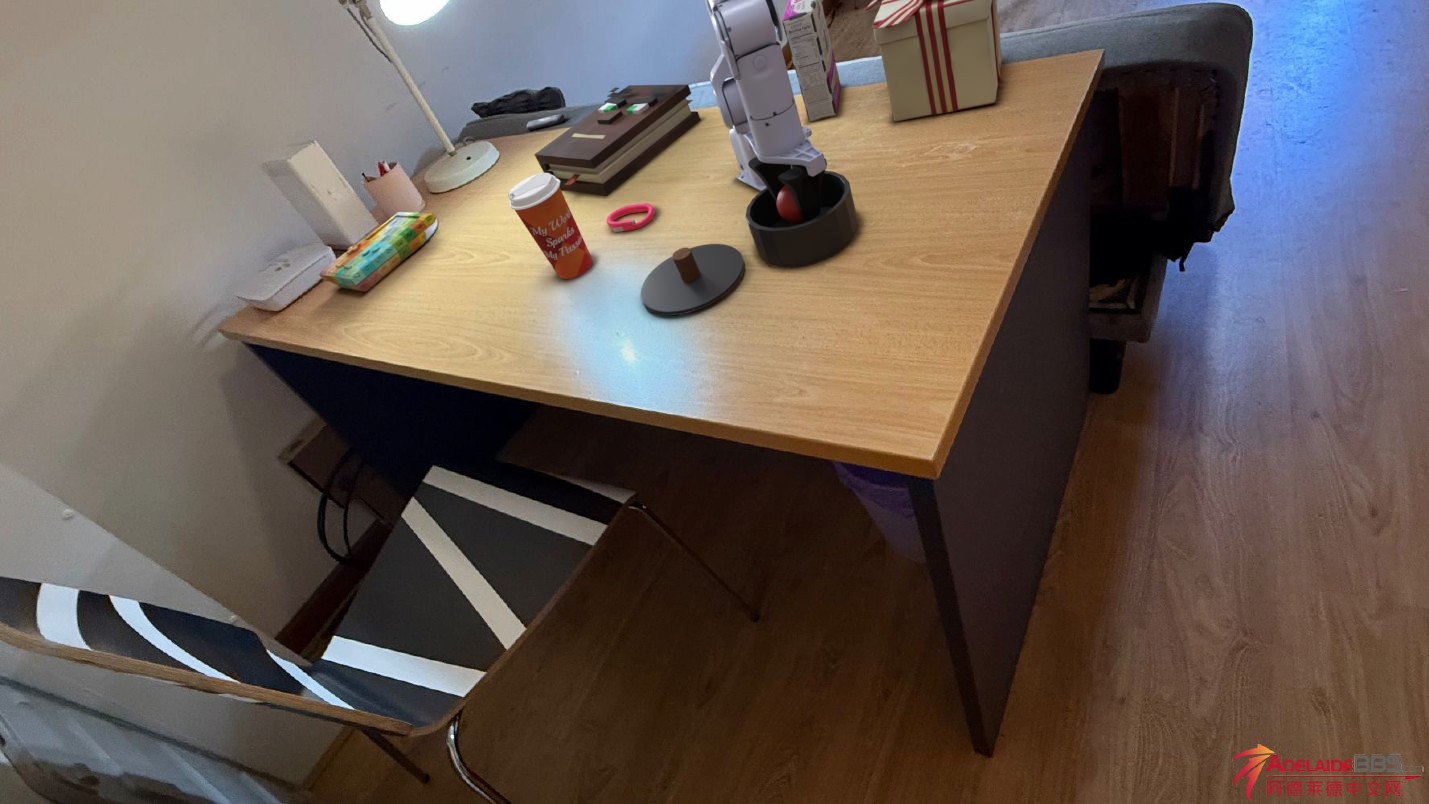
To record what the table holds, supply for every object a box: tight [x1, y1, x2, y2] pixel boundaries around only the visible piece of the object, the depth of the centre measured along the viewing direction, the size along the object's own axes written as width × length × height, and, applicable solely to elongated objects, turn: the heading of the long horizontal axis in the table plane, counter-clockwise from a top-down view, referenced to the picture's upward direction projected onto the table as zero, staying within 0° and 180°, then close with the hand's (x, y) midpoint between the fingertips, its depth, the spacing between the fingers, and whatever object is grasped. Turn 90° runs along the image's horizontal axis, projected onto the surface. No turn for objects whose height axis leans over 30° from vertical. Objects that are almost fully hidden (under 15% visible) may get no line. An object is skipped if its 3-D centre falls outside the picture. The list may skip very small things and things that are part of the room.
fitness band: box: [606, 202, 656, 233], centre depth 112 cm, size 8×6×2 cm
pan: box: [745, 170, 859, 269], centre depth 91 cm, size 13×13×6 cm
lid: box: [640, 243, 745, 316], centre depth 92 cm, size 14×14×5 cm
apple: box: [777, 186, 807, 224], centre depth 89 cm, size 5×5×6 cm
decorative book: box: [533, 84, 702, 197], centre depth 130 cm, size 19×8×30 cm
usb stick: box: [525, 113, 565, 131], centre depth 160 cm, size 10×3×2 cm, turn 73°
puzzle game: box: [318, 211, 437, 293], centre depth 133 cm, size 12×5×20 cm
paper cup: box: [507, 172, 593, 280], centre depth 103 cm, size 8×8×14 cm
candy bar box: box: [781, 0, 842, 123], centre depth 114 cm, size 11×5×16 cm, turn 168°
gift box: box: [862, 0, 1003, 123], centre depth 102 cm, size 17×18×17 cm
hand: (799, 210), depth 90 cm, fingers closed on apple, 5 cm apart
